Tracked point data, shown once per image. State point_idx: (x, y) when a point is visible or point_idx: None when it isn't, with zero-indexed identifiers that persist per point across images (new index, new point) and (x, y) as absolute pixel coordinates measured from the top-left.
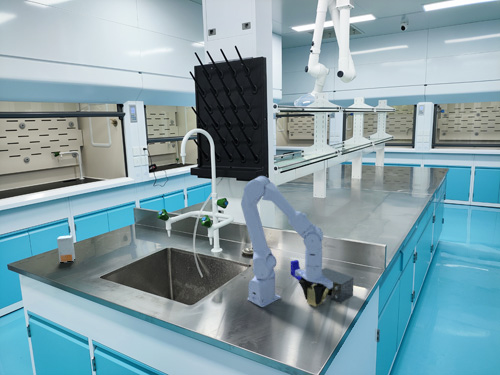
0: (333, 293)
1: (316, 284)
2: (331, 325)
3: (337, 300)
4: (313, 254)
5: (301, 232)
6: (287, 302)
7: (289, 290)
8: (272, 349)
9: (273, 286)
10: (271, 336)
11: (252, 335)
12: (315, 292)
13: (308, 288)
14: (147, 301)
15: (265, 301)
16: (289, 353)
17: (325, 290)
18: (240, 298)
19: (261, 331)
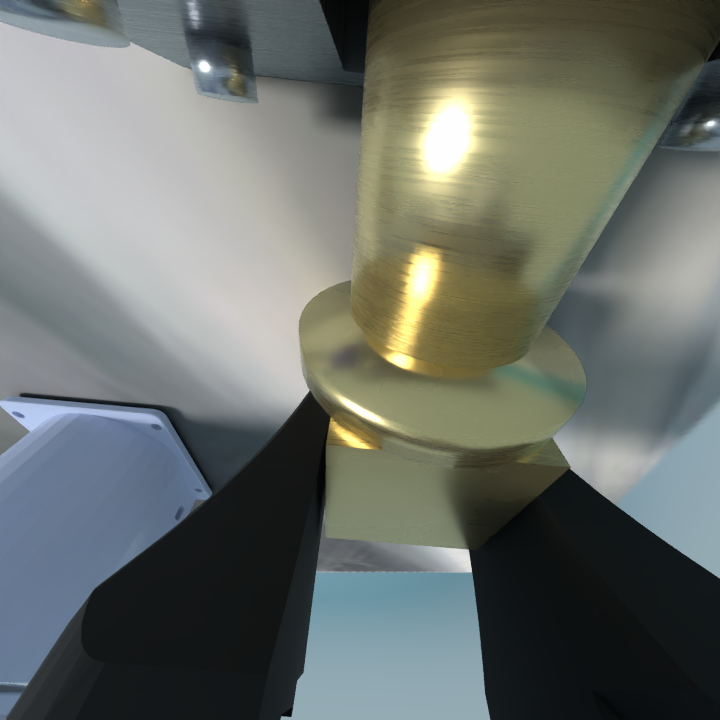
0: (690, 88)
1: (372, 423)
2: (579, 460)
3: (675, 114)
4: None
5: None
6: (237, 418)
7: (40, 272)
8: (413, 563)
9: (101, 562)
10: (378, 547)
11: (333, 555)
12: (483, 571)
13: (351, 539)
14: None
15: (181, 490)
16: (460, 561)
17: (584, 384)
18: None
19: (338, 545)
